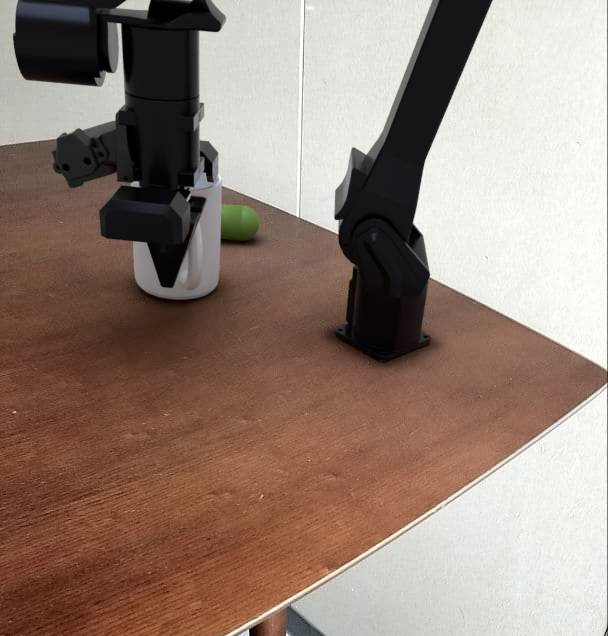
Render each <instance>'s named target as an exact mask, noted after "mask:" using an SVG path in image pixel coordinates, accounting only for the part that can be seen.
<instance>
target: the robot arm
mask: <svg viewBox="0 0 608 636" xmlns="http://www.w3.org/2000/svg"><path fill="white" fill-rule="evenodd" d="M126 1H127V0H17V2H16V8H15V19H14V30H15V31H14V32H13V34H12V42H13V44H12V45H13V50H14V55H15V61H16V64H17V67H18V70H19V72H20V73H19V74H21V76H22V78H23V79H24V80H25V81H32V82H41V83H42V82H43V83H53V84H66V85H77V86H87V87H98V88H101V87H103V85H104V83H105V80H106V75H107V74H116V73H117V70H118V65H119V55H120V43H119V42H120V40H119V30H118V24H120V32H121V51H122V73H123V89H124V90H123V91H124V105H122V106H121V107H120V108H119V109H118V111H117V112H116V113H115V115H114V116H115V117H114V118H115V119H114V120H111V121H108V122H104V123H100V124H97V125H95V126H91V127H87V128H85V129H82V128H80V127H78V128H76V129H74V130H73V131H71V132H70V133H69V132H68V133H67V132H66V131H65V132H62V133H61V134H60V135H59V136H57V138H56V144H55V145H54V146H53V147H52V151H51V154H52V157H53V164H52V169H53V171H54V172H55V173H56V174H58V175H62V177H63V178H64V179H65V181H66V183H67V185H68V188H70V189H76V188H79V187H82V186H83V185H84V183H87V182H90V181H94V180H97V179H101V178H104V177H108V176H111V175H114V174H116V180H117V181H116V182H118V183H127V184H131V183H133V182H134V181H135V182H139V186H140V187H133V186H131V185H123V184H121V185H120V186H118V188H117V189H116V190H115V191H114V192H113V193H112V194H111V195H110V196H109V197H108V198H107V200H106V201H105V202H104V204H103V205H102V206H101V208H100V209H99V210H98V214H99V227H100V236H101V237H103V238H105V239H107V240H116V241H117V240H118V241H126V242H133V241H135V242H145V243H147V245H148V248H149V251H150V254H151V257H152V260H153V263H154V267H155V270H156V273H157V276H158V279H159V282H160V285H161V286H162V287H164V288H173V287H174V285H175V282H176V279H177V277H178V274H179V271H180V269H181V266H182V264H183V261H184V258H185V256H186V253H187V250H188V248H189V246H190V243H191V240H192V238H193V235H194V233H195V230H196V227H197V225H198V222H199V220H200V217H201V214H202V212H203V209H204V207H205V205H206V202H207V199H206V198H205V197H201V196H192V195H191V191H190V188H189V187H195V185H196V183H197V181H198V180H199V178H200V176H201V174H202V173H206V178H207V182H212V183H214V181H215V180H216V178H217V176H218V174H219V152H218V151H217V149H216V148H215V146H213V145H212V143H211V142H210V140H203V139H202V140H201V136H200V134H201V127H200V124H201V122H202V120H203V119H204V118H205V102H200V101H201V100H200V96H201V95H200V32H208V33H219V32H220V31H221V30H222V29H223V28H224V25H226V22H227V17H226V14H225V13H223V12H222V11H221V9H219V7H217V5H216V4H215V2H213V0H150V1H149V4H148V8H147V9H131V8H119V6H120V5H122V4H124V3H125V2H126ZM493 1H494V0H431V3H430V5H429V8H428V11H427V14H426V16H425V18H424V22H423V24H422V26H421V28H420V31H419V33H418V34H419V35H418V37H417V39H416V42H415V45H414V48H413V50H412V53H411V56H410V58H409V60H408V63H407V66H406V68H405V71H404V74H403V76H402V79H401V81H400V84H399V87H398V89H397V92H396V95H395V98H394V99H393V103H392V105H391V107H390V110H389V114H388V115H387V118H386V121H385V123H384V126H383V127H382V128H383V129H382V131H381V133H380V134H379V136H378V138H377V139H376V141H374V143H373V145H372V147H370V149H369V150H368V151H367V153H365V152H362V150H359V149H358V148H356V147H354V146H353V147H351V149H350V154H349V159H348V164H347V169H346V173H345V175H344V177H343V179H342V181H341V183H340V184H339V185H338V186H337V188H335V190H334V209H333V210H334V215H333V218H334V220H335V221H338V226H337V227H338V229H337V230H338V232H337V238H338V239H337V240H338V245H339V248H340V249H341V252H342V254H343V256H344V257H345V258H346V259H347V260H348V261H349V262H350V263H351V264H352V265H353V266H352V272H351V273H352V274H351V279H349V281H348V292H347V300H346V301H347V302H346V313H345V322H346V323H347V324H344V325H341V326H338V327H336V328H335V329H334V335H335V336H336V337H338V338H340V340H341V339H342V340H343V341H345V342H347V343H348V344H350V345H352V346H354V347H356V348H358V349H359V350H361V351H362V352H364V353H366V354H368V355H370V356H372V357H373V358H375V359H377V360H379V361H383V362H384V361H385V362H386V361H389V360H391V359H393V358H396V357H398V356H401V355H403V354H406V353H408V352H410V351H413V350H416V349H418V348H420V347H424V346H426V345H428V344H430V343H431V341H432V336H431V335H429V334H428V333H426V332H424V331H422V329H423V323H424V322H423V321H424V315H425V309H426V308H425V307H426V302H427V297H428V296H427V295H428V289H429V280H430V278H431V271H430V266H429V260H428V254H427V249H426V243H425V238H424V234H423V233H422V232H421V231H420V229H419V228H418V227H417V226H416V224H415V223H414V221H415V217H416V212H417V207H418V202H419V197H420V190H421V185H422V179H423V175H424V174H423V173H424V168H425V164H426V160H427V157H428V155H429V153H430V150H431V148H432V146H433V143H434V141H435V140H436V136H437V134H438V132H439V129H440V126H441V124H442V123H443V120H444V117H445V114H446V112H447V110H448V108H449V105H450V103H451V100H452V98H453V96H454V95H455V91H456V89H457V86H458V85H459V82H460V79H461V78H462V74H463V72H464V70H465V67H466V65H467V63H468V60H469V58H470V55H471V53H472V51H473V49H474V46H475V43H476V41H477V39H478V36H479V34H480V31H481V29H482V27H483V24H484V22H485V21H486V18H487V15H488V12H489V10H490V8H491V5H492V3H493Z"/></svg>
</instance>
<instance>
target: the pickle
mask: <svg viewBox="0 0 608 636" xmlns="http://www.w3.org/2000/svg"><path fill="white" fill-rule="evenodd" d="M259 228H260V219H259V216H258V214H257V213H256V211H255V210H254V209H253V208H252V207H249V206H247V205H239V204H228V203H221V235H220V240H228V241H240V242H241V241H242V242H244V241H249V240H251V239H253V238H254V237H255V236H256V235H257V233H258V231H259Z"/></svg>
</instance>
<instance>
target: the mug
mask: <svg viewBox="0 0 608 636" xmlns="http://www.w3.org/2000/svg"><path fill="white" fill-rule="evenodd" d="M130 186H133V187H140V186H139V182H135V181H134V182H133V183H130ZM189 188H190V191H191V195H192V196H201V197H205V198H206V199H207V202H206V205H205V207H204V209H203V212H202V214H201V217H200V220H199V222H198V225H197V227H196V230H195V233H194V235H193V238H192V240H191V243H190V246H189V248H188V250H187V253H186V256H185V258H184V261H183V264H182V266H181V269H180V271H179V274H178V277H177V279H176V282H175V285H174V287H173V288H164V287H162V286H161V285H160V282H159V279H158V276H157V273H156V270H155V267H154V263H153V260H152V257H151V254H150V251H149V248H148V245H147V243H145V242H135V241H132V252H133V256H132V257H133V273H134V279H135V282H136V284H137V285H138V286H139V288H140V289H141V290H143V291H144V292H145V293H147V294H149V295H152V296H154V297H158V298H161V299H167V300H177V301H178V300H179V301H180V300H181V301H182V300H193V299H199V298H203V297H204V296H207V295H209V294H211V293H212V292H213V291H214V290H215V289H216V288H217V286H218V284H219V280H220V271H221V270H220V269H221V267H220V266H221V265H220V264H221V239H220V235H221V204H222V197H223V196H222V194H223V179H222V176H221V174H220V173H218V176H217V178H216V180H215V181H214V183H212V182H207V178H206V173H202V174H201V176H200V178H199V180H198V181H197V183H196V185H195V187H189Z"/></svg>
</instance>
